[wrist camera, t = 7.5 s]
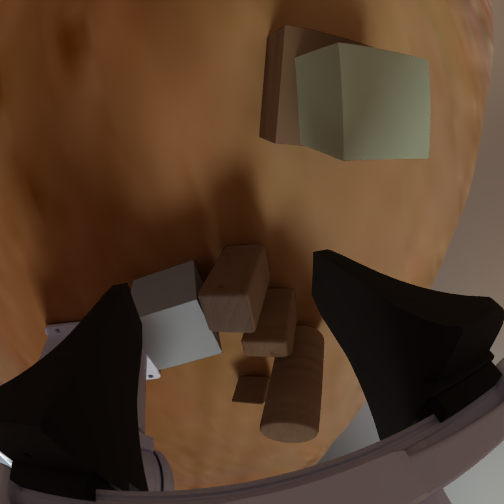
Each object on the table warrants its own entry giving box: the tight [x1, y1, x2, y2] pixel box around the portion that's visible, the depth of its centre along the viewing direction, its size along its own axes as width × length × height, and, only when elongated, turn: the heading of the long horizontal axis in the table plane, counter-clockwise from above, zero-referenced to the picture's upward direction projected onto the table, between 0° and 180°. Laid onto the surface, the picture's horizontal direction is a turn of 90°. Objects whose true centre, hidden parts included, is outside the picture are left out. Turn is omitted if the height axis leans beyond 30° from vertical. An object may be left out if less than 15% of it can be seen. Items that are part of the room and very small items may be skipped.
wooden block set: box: [198, 244, 324, 443], centre depth 22 cm, size 18×9×10 cm, turn 9°
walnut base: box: [259, 25, 374, 146], centre depth 16 cm, size 7×7×4 cm
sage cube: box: [295, 43, 430, 161], centre depth 13 cm, size 5×5×5 cm
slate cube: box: [131, 260, 222, 370], centre depth 21 cm, size 5×5×5 cm
